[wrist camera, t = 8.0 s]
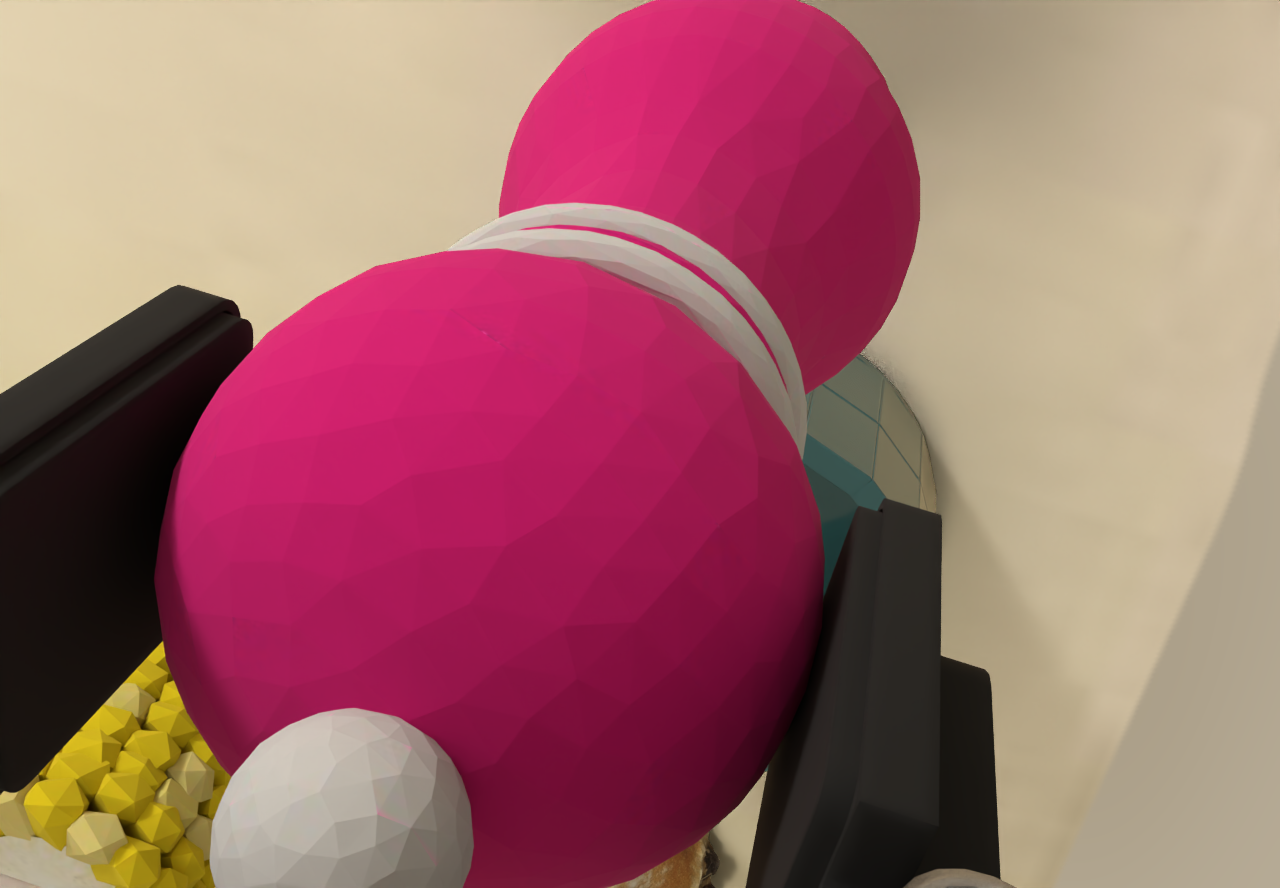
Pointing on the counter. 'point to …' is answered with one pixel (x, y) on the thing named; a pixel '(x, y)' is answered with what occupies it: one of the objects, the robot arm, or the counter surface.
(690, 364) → the pepper mill
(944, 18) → the counter surface
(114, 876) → the food
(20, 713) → the robot arm
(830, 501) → the pot
